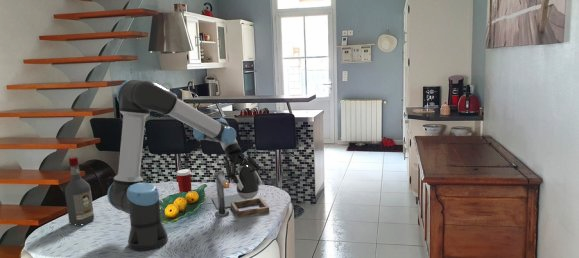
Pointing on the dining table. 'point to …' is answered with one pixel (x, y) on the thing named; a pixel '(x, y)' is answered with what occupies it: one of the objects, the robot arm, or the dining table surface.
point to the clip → (221, 178)
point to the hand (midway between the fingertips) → (251, 186)
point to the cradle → (252, 211)
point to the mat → (228, 200)
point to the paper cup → (184, 180)
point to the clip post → (220, 200)
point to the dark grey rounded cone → (248, 182)
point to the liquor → (78, 197)
